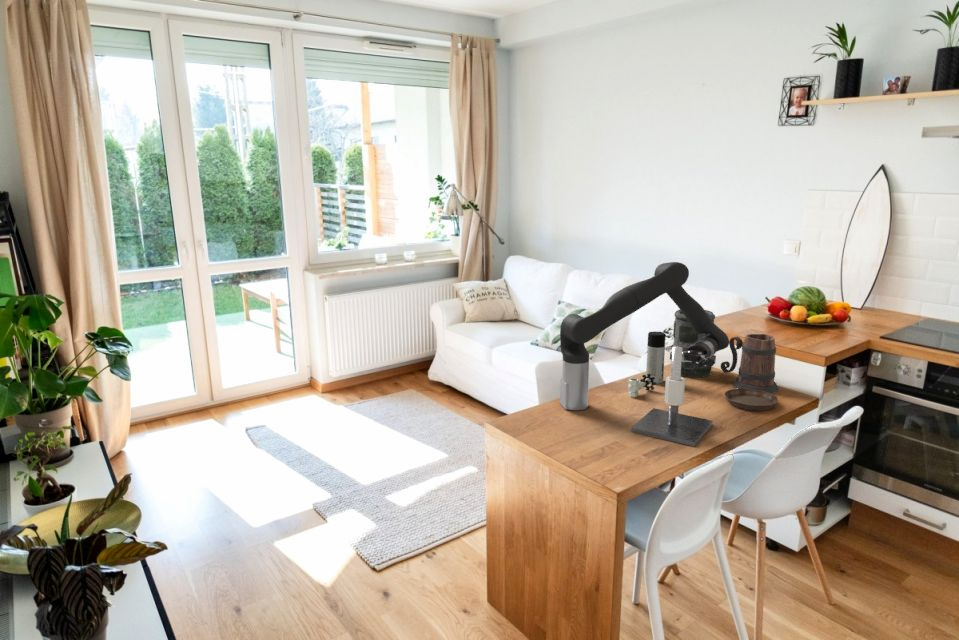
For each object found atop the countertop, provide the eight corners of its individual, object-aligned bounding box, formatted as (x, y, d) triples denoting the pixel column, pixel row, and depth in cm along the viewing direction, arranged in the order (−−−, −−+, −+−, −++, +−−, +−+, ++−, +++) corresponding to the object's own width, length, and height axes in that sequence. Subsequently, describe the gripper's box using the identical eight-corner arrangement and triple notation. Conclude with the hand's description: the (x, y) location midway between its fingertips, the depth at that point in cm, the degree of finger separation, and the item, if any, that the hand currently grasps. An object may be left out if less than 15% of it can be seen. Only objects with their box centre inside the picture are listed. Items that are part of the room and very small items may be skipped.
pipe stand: (694, 446, 185) (700, 360, 178) (631, 431, 196) (634, 349, 190) (712, 424, 200) (718, 344, 194) (653, 412, 212) (657, 335, 205)
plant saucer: (713, 399, 224) (713, 391, 223) (750, 392, 230) (751, 385, 229) (749, 416, 208) (750, 408, 207) (788, 408, 214) (789, 400, 213)
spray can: (665, 384, 240) (668, 335, 235) (647, 384, 240) (650, 335, 235) (660, 378, 246) (663, 330, 242) (643, 378, 246) (646, 331, 242)
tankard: (788, 387, 234) (793, 337, 229) (763, 397, 225) (768, 344, 220) (733, 372, 253) (737, 325, 248) (708, 380, 244) (712, 332, 239)
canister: (718, 372, 252) (723, 307, 246) (697, 381, 243) (702, 312, 236) (684, 364, 264) (689, 301, 258) (663, 371, 255) (667, 306, 248)
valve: (637, 399, 224) (655, 392, 232) (638, 382, 222) (656, 375, 230) (622, 395, 229) (641, 387, 236) (623, 378, 227) (642, 371, 235)
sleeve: (679, 406, 192) (681, 382, 191) (662, 403, 196) (664, 379, 194) (685, 401, 197) (686, 377, 195) (668, 398, 200) (669, 375, 198)
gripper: (681, 338, 218) (666, 348, 206) (722, 345, 210) (709, 355, 197) (679, 358, 220) (664, 369, 207) (720, 365, 212) (707, 377, 199)
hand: (686, 362), depth 202 cm, fingers open, 8 cm apart
